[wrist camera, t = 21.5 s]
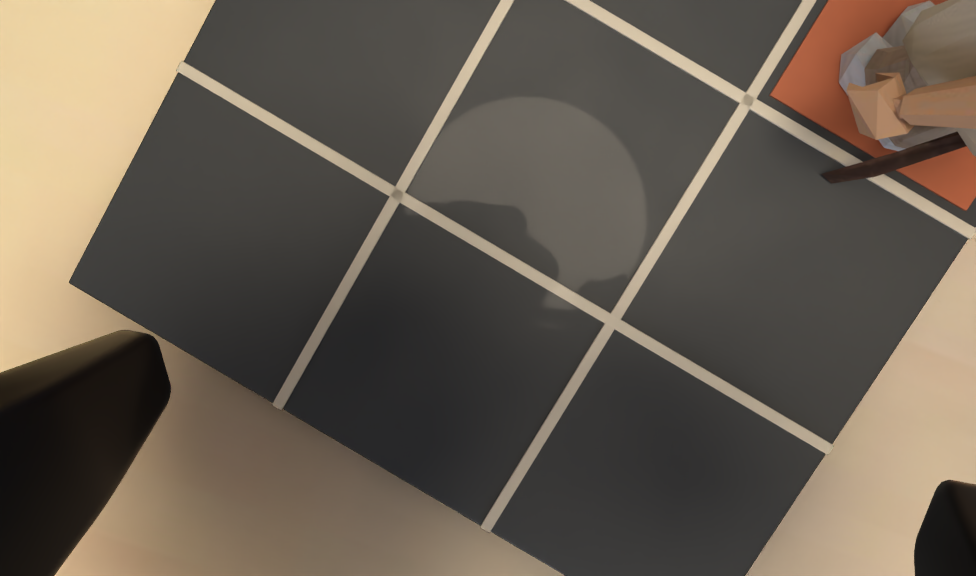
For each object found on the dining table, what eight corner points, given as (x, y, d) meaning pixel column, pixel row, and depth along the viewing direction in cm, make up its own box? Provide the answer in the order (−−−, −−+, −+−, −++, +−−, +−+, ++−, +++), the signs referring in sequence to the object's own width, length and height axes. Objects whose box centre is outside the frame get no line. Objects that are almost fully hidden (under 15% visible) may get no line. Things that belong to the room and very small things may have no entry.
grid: (691, 642, 21) (695, 655, 21) (78, 281, 21) (64, 283, 21) (1111, 5, 19) (1130, -2, 19) (432, -397, 19) (429, -416, 19)
